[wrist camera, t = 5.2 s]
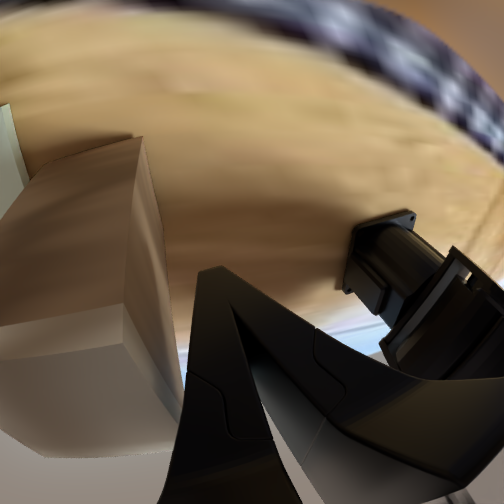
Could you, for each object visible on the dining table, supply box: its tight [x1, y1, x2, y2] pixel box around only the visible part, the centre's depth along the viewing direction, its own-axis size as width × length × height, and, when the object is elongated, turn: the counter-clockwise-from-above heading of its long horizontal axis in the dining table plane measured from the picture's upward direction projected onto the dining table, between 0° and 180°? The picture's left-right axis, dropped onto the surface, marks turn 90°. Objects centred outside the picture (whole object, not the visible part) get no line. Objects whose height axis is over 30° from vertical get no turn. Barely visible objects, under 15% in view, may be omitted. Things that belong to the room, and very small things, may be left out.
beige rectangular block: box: [0, 136, 184, 458], centre depth 9 cm, size 5×5×11 cm
